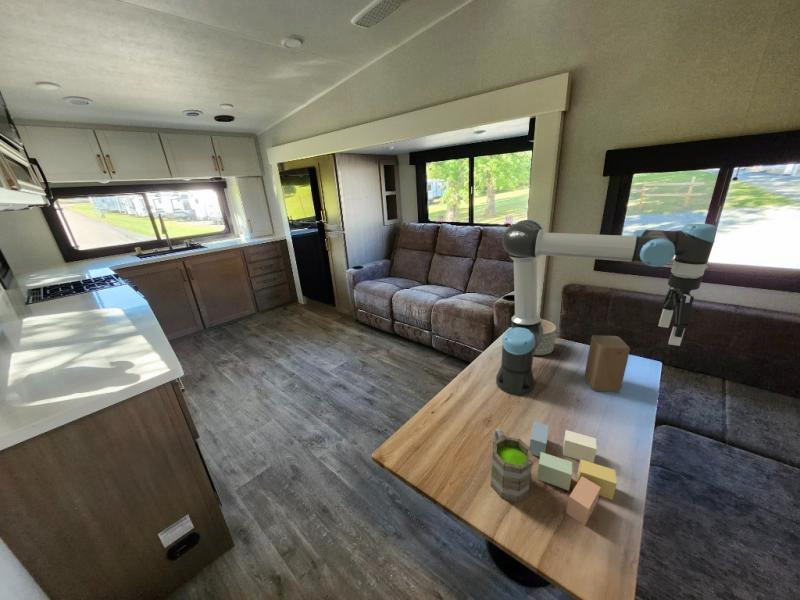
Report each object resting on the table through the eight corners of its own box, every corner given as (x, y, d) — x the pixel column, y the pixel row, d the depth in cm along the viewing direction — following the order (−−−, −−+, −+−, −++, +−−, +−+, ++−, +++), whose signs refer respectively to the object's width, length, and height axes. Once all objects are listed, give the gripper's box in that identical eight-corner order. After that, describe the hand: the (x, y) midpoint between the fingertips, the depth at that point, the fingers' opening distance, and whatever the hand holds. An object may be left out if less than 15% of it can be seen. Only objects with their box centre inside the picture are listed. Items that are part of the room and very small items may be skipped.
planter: (551, 360, 141) (554, 335, 136) (514, 352, 149) (516, 329, 144) (554, 344, 154) (557, 321, 149) (520, 338, 162) (522, 316, 157)
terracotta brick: (585, 525, 74) (588, 509, 72) (566, 512, 77) (569, 496, 75) (596, 503, 79) (600, 487, 77) (578, 492, 82) (581, 476, 80)
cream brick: (562, 455, 93) (565, 440, 91) (563, 444, 97) (565, 429, 95) (593, 464, 90) (596, 449, 87) (592, 453, 93) (595, 438, 91)
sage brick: (536, 479, 86) (539, 463, 84) (538, 467, 90) (540, 451, 88) (568, 490, 83) (571, 474, 81) (569, 477, 86) (572, 462, 84)
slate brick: (544, 458, 93) (546, 443, 90) (528, 453, 95) (530, 438, 92) (546, 440, 99) (548, 425, 97) (532, 435, 101) (533, 421, 99)
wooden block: (621, 393, 117) (631, 348, 110) (592, 391, 119) (601, 346, 112) (609, 378, 126) (619, 335, 119) (583, 376, 128) (590, 334, 121)
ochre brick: (577, 487, 83) (580, 471, 81) (577, 474, 87) (580, 459, 85) (612, 500, 80) (616, 483, 78) (611, 486, 83) (615, 470, 81)
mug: (537, 499, 81) (542, 466, 77) (497, 504, 80) (500, 471, 76) (512, 451, 96) (515, 421, 91) (478, 455, 95) (479, 425, 91)
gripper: (718, 288, 83) (695, 355, 91) (689, 265, 103) (672, 321, 111) (682, 286, 86) (663, 350, 94) (661, 264, 107) (647, 318, 115)
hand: (668, 335), depth 103 cm, fingers open, 13 cm apart
